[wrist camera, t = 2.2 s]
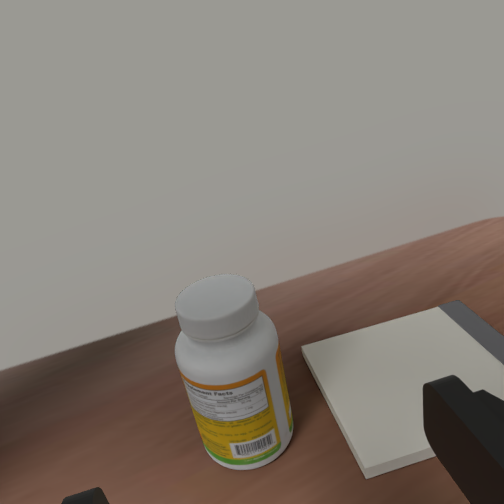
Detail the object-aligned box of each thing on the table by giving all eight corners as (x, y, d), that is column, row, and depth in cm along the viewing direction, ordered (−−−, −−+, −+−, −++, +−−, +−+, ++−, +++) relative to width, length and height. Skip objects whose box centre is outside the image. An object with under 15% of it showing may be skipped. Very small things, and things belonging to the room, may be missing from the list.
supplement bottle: (239, 386, 29) (207, 259, 25) (311, 415, 26) (289, 276, 22) (184, 449, 26) (136, 312, 21) (261, 490, 23) (223, 341, 18)
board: (365, 479, 22) (365, 467, 22) (302, 355, 31) (300, 345, 31) (575, 409, 24) (578, 397, 23) (457, 309, 32) (458, 299, 32)
